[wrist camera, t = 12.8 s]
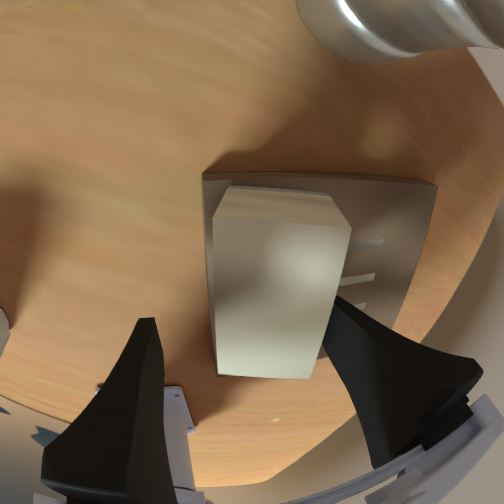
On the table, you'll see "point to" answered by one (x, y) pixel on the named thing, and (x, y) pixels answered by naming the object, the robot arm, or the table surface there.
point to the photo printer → (3, 331)
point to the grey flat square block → (362, 234)
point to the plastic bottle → (402, 26)
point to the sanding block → (275, 278)
